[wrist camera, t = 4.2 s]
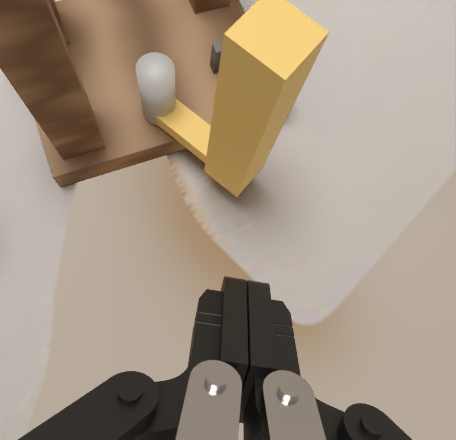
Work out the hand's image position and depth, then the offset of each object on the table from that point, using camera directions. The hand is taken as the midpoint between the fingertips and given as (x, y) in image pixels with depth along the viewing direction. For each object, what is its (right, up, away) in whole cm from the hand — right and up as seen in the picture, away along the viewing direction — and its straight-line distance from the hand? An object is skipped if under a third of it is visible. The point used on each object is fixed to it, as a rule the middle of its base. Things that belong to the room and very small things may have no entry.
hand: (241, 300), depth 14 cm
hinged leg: (-3, +8, +16) cm, 18 cm away
